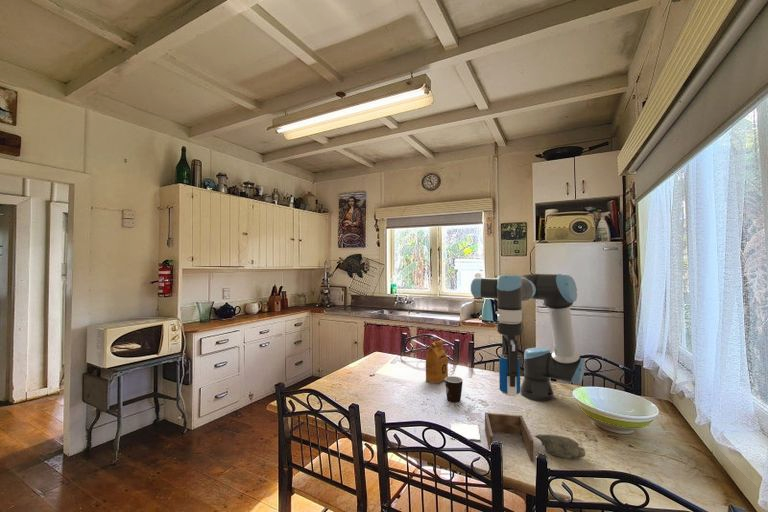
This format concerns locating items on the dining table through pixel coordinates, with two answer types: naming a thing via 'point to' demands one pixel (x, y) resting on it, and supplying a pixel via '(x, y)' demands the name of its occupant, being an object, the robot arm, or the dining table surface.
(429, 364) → the coffee package
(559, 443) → the fossil
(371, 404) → the dining table surface
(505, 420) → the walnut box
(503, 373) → the beverage can
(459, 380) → the coffee mug
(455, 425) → the white flat square slab
